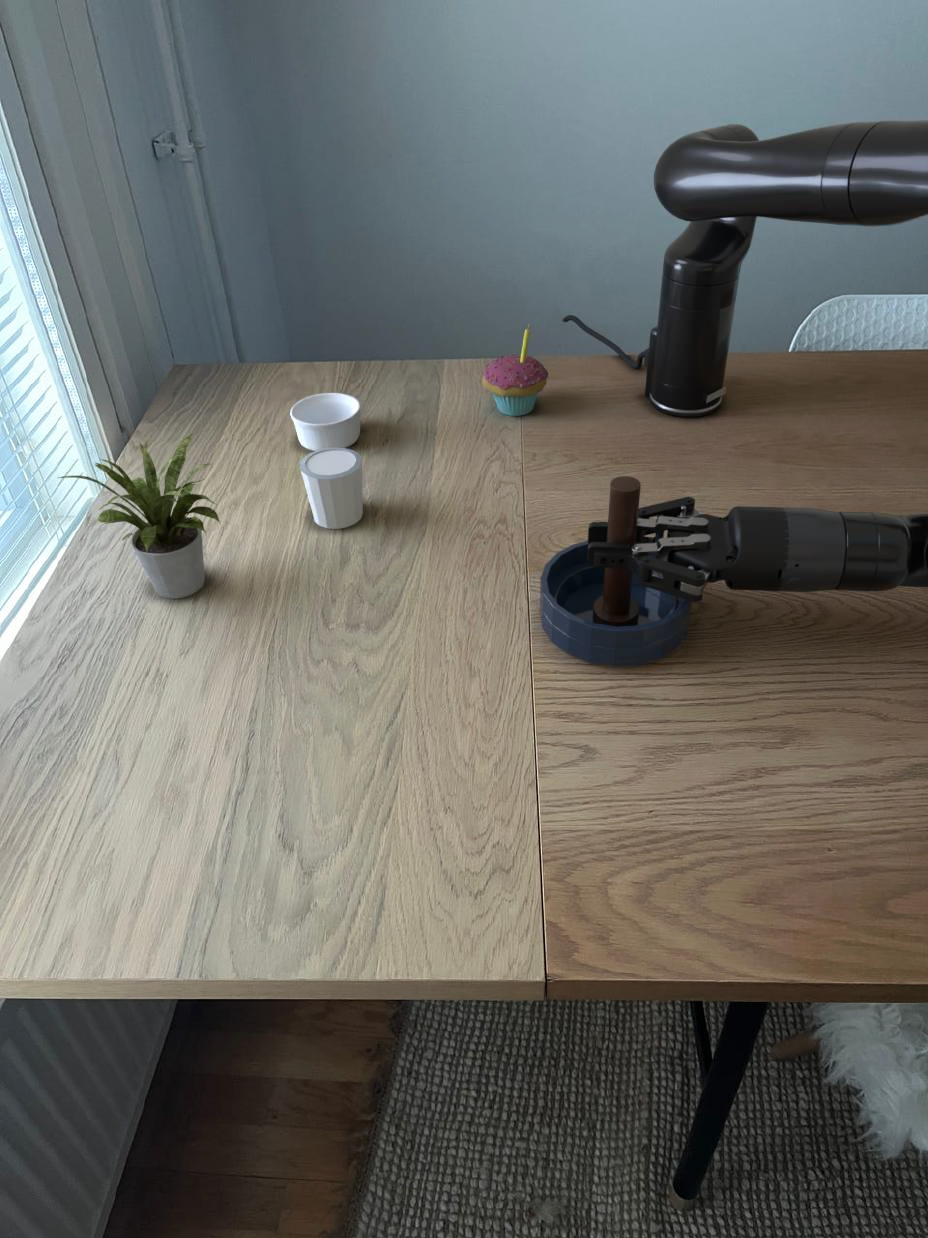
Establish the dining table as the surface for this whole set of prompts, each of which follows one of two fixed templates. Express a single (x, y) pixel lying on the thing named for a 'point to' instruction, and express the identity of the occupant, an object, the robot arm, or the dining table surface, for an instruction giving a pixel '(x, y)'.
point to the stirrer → (618, 581)
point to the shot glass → (334, 486)
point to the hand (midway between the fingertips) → (588, 543)
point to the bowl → (574, 630)
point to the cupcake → (515, 381)
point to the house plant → (162, 523)
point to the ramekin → (327, 421)
